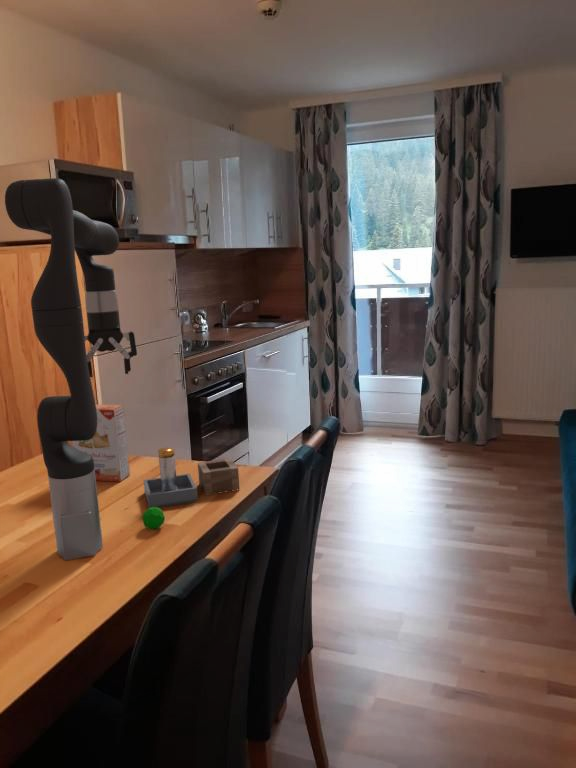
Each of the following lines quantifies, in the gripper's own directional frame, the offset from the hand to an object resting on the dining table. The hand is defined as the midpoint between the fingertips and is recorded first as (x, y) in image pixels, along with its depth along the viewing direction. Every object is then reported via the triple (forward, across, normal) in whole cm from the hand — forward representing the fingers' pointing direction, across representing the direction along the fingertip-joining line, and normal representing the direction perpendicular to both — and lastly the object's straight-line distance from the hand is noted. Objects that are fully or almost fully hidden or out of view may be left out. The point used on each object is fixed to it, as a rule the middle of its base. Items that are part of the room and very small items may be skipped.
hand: (109, 375), depth 159 cm
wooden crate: (+32, +25, -3) cm, 41 cm away
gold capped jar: (+32, +12, -5) cm, 34 cm away
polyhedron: (+32, +6, -23) cm, 40 cm away
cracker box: (+32, -4, +18) cm, 37 cm away
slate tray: (+32, +12, -5) cm, 35 cm away
